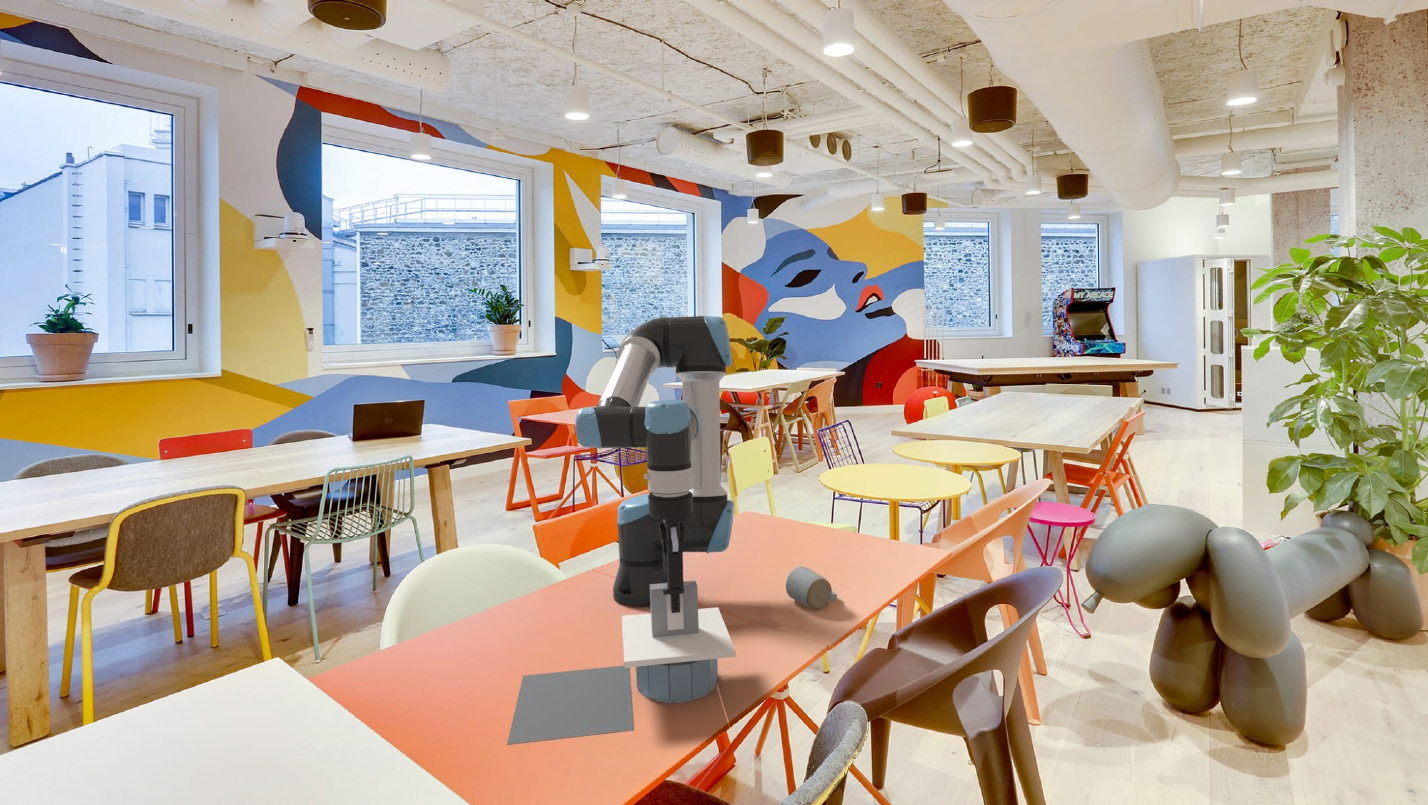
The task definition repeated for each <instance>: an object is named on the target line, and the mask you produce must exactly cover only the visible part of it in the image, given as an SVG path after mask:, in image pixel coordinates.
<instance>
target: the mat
mask: <svg viewBox="0 0 1428 805" xmlns="http://www.w3.org/2000/svg"><path fill="white" fill-rule="evenodd" d="M631 680H632V679H631V667H628V668H624V665H615V666H606V667H605V666H604V667H596V668H594V667H593V668H584V669H576V670H575V669H574V670H566V671H556V672H546V673H536V674H526V675H525V674H524V675H522V679H521V683H520V687H519V691H518V696H517V701H516V704H515V709H514V712H513V716H512V722H511V725H510V731H509V734H508V735H509V736H508V739H507V743H506V746H508V745H517V744H526V743H535V742H543V741H553V740H562V739H569V738H570V739H571V738H579V737H588V736H597V735H605V734H614V733H622V732H631V731H632V732H633V731H635V724H634V723H635V722H634V710H633V696H632V683H631Z"/></svg>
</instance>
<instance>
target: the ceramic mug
mask: <svg viewBox="0 0 1428 805" xmlns="http://www.w3.org/2000/svg"><path fill="white" fill-rule="evenodd" d="M785 590H786V594H787V595H788V596H789V597H790V598H791V599H792V600H794V601H795V602H798V603H800V604H801V605H804V606H805V607H807V608H808V609H812V610H820V609H822V608H825V606H827V605H828V603H829V601H831V602H836V600H837V597H838V594H837V593H836V592H834V591H833V589H832V586H831V583H830V582H829V581H828V580H827V579H826V578H825V577H823V576H822V575H820V574H818V573H817V572H816V571H814V570H812V569H810V568H809V567H806V566H803V565H802V566H797V567H795V568H794V569H792V570H791V572H789V575H788V576H787V579H786V583H785Z"/></svg>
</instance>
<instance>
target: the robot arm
mask: <svg viewBox="0 0 1428 805" xmlns="http://www.w3.org/2000/svg"><path fill="white" fill-rule="evenodd" d="M732 356H733V355H732V349H731V342H730V335H729V330H728V325H727V323H726V321H725V319H724V318H723V317H721V316H712V315H709V316H708V315H699V316H698V315H697V316H696V315H695V316H676V317H673V316H672V317H671V316H670V317H666V316H664V317H657V318H653V319H650V320H648V321H645V322H643V323H642V324H639V325H638V326H637V327H636V328H634V329H632V331H630V332H629V333H627V335H626V336H625V337H624V339H623V340H622V342H621V343H620V345H619V347H618V350H617V362H616V365H615V366H614V369H613V371H612V373H611V374H610V377H609V380H608V381H607V384H605V385H606V386H605V387H604V390H603V392H602V394H601V396H600V399H599V400H598V403H597V404H596V406H592V405H591V406H588V407H581V408H580V409H579V410H578V411H577V413H576V416H575V423H574V424H575V425H574V427H575V428H574V430H575V436H576V440H577V443H578V444H579V446H581V447H583V448H591V449H592V448H593V449H599V450H601V449H620V448H621V449H622V448H623V449H624V448H626V449H627V448H630V449H631V448H637V449H639V448H640V449H641V448H645V449H646V467H647V473H644V475H643V479H644V480H647V489H648V491H649V493H645V494H639V495H634V496H632V497H630V498H627V499H625V500H623V501H621V503H619V506H618V508H617V521H616V524H617V535H618V536H617V537H618V538H617V540H618V554H619V555H618V556H619V557H618V558H619V564H618V565H619V566H618V569H617V572H616V577H615V580H614V583H613V586H612V594H613V599H614V601H615V602H616V603H618V604H621V605H623V606H626V607H636V608H646V607H647V608H649V607H651V605H650V584H661V583H667V590H663V595H666V596H667V624H668V630H676V629H684V619H683V593H684V588H683V582H684V555H683V554H684V553H706V554H709V553H722V552H725V551H726V550H727V549H728V547H729V545H730V541H731V536H732V531H733V530H732V529H733V521H734V515H735V514H734V511H735V509H734V507H735V502H734V501H733V500H731V499H729V500H728V491H727V490H726V489H725V488H724V487H723V486H722V482H721V479H722V478H721V475H722V474H721V470H722V469H721V420H720V419H721V411H720V407H721V406H720V405H721V404H720V400H721V399H720V397H721V396H720V383H721V380H722V379H723V378H724V377H725V376H726V375H727V369H726V368H729V367H731V366H732V365H733V357H732ZM658 368H660V369H661V368H675V376H676V377H677V378H678V379H679V380H680V381H681V382H682V386H681V387H682V400H681V399H660V400H655V401H650V402H648V403H647V404H646V405H645V406H639V405H640V403H641V400H642V398H643V394H644V393H645V390H646V386H647V384H648V383H649V380H650V376H651V374H653V373H654V372H655V371H656V370H657V369H658Z"/></svg>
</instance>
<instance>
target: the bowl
mask: <svg viewBox="0 0 1428 805" xmlns="http://www.w3.org/2000/svg"><path fill="white" fill-rule="evenodd" d="M718 668H719V667H718V659H708V660H698V661H688V662H678V663H668V664H658V665H648V666H638V667H635V680H636V689H637V690H638V692H639V693H640V694H641V695H642V696H644V697H645V698H647V699H649V700H651V701H654V702H655V701H656V702H659V703H660V702H661V703H667V704H669V703H670V704H673V703H674V704H675V703H676V704H677V703H687V702H690V701H694V700H698V699H699V698H703V697H705V696H706V695H708V694H709V693H711V691H713V690H714V688H715V687H717V685H718V680H719V676H718V675H719V671H718Z"/></svg>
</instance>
